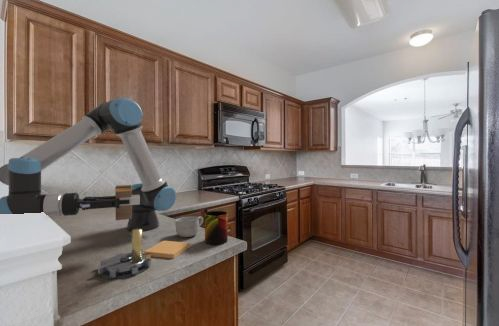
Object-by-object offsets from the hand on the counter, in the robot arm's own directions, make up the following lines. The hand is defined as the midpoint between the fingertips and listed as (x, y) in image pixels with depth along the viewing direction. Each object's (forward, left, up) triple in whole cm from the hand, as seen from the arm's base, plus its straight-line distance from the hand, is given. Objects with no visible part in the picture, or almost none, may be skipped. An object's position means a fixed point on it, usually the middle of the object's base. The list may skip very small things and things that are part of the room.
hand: (139, 199), depth 89 cm
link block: (+3, -4, -7) cm, 8 cm away
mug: (-19, +23, -20) cm, 36 cm away
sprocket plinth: (+13, +5, -20) cm, 24 cm away
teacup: (-23, +9, -20) cm, 32 cm away
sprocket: (+13, +5, -20) cm, 24 cm away
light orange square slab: (-3, +10, -20) cm, 22 cm away
